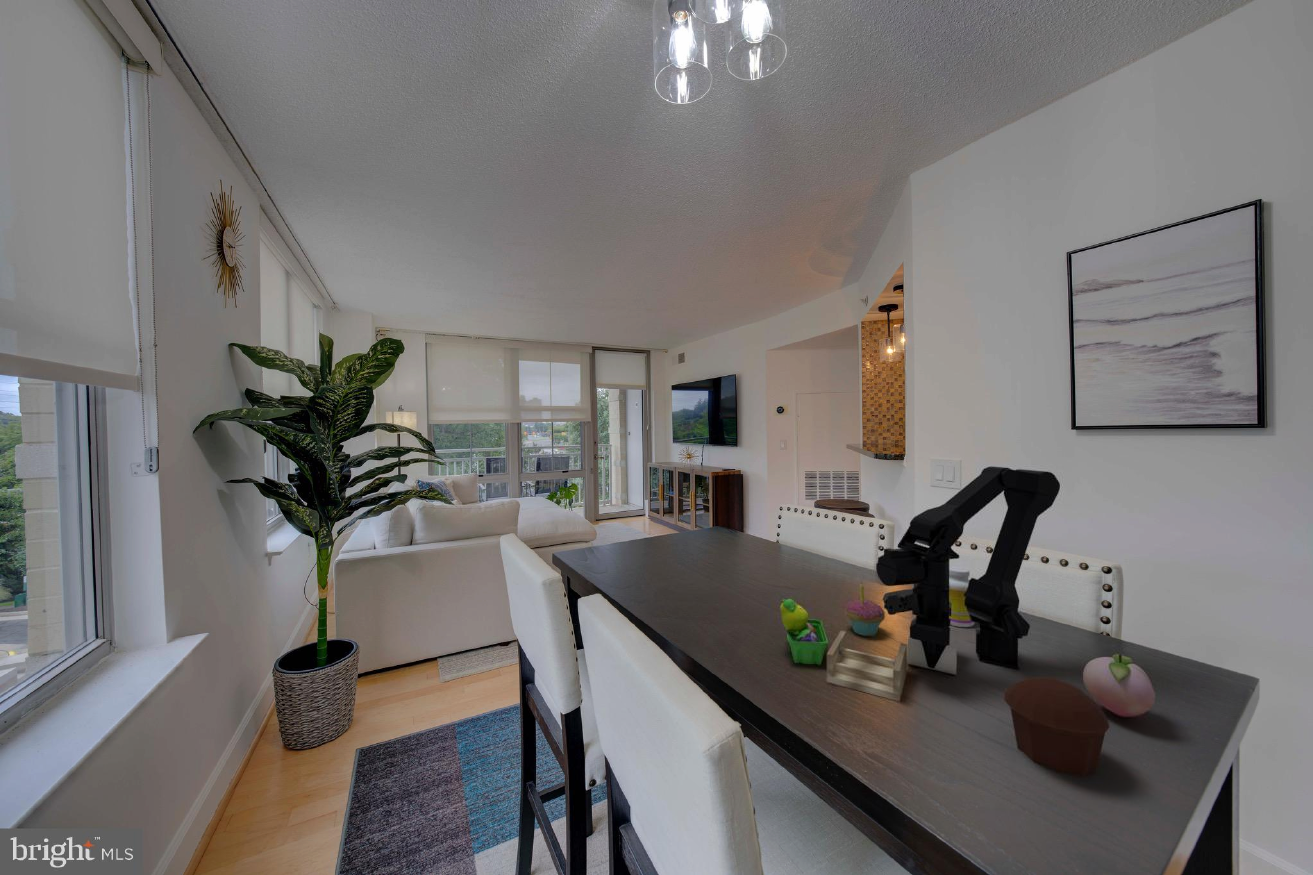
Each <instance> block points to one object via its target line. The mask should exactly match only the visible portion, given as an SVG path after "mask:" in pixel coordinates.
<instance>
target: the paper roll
mask: <svg viewBox="0 0 1313 875" xmlns="http://www.w3.org/2000/svg"><path fill="white" fill-rule="evenodd" d="M907 639H908V640H907V664H908V665H912V666H917V667H921V668H925V669H928V670H929V669H930V670H933V671H934V670H935V671H937V672H943V673H947V674H951V675H954V676H955V675H957V665H958V655H957V645H951V644H950V645H947V646H946V648H945V649H944V651H943V653H942V655H941V657H940V658H939V660H938V662H937V664H936V666H935V668H930V667H928V666H927V662H926V658H925V654H924V650H923V646H922V642H921V641H920V640H916V639H912V638H910V636H909V637H908V638H907Z"/></svg>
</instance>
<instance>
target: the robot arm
mask: <svg viewBox="0 0 1313 875" xmlns="http://www.w3.org/2000/svg"><path fill="white" fill-rule="evenodd" d="M1060 487H1061V483H1060V481H1059V480H1058V478H1057V477H1056V475H1055V474H1054V473H1053V472H1051V471H1045V470H1033V469H1032V470H1031V469H1021V468H1019V469H1017V468H1016V469H1011V468H1010V467H1003V466H994V465H993V466H987V467H984V468H983V469H982V471H981V472H980V474H979V475H978V476H977V477H976V478H974V479H972V481H970V482H969V483H968V484H967V485H965V486H964V487H963V488H962V489H960V490H959V491H958V492H957V493H956V494H954V495H953V496H951V498H950V499H948V500H947V501H946V502H945V503H943V504H941V505H939V506H935V507H933V508H928V509H926V510H924V511H922V512H921V513H919V514H917V515H916V516H914V517H913V518H912V519H911V520H910V522H909V526H908V528H907V529H906V532H905V533H904V534H903V536H902V537H901V540H900V541H899V542H898V543H897V548H888V547H887V548H884V549H883V554H882V555H880V557H878V559H877V562H876V563H875V565H876V566H875V567H876V568H875V569H876V573H877V576H878V579H879V580H880V582H881V583H882V584H883V585H885V586H886V587H894V586H905V585H908V586H909V585H913V587H912V588H910V589H901V590H900V589H899V590H894V591H889V592H886V593H884V595H883V597H882V601H883V603H884V605H883V608H884V610H886V611H887V614H888V615H890V616H894V615H896V614H900V613H906V612H911V614H912V616H915V618H913V619H911V622H910V625H909V637H910V638H912V639H916V640H920V641H921V642H922V646H923V650H924V654H925V658H926V662H927V666H928V667H930V668H935V666H936V664H937V662H938V660H939V658H940V657H941V655H942V653H943V651H944V649H945V648H946V646H947V645H951V643H950V641H951V627H950V626H951V625H950V623H951V619H949V616H951V613H952V603H951V602H950V601H949V592H950V586H949V567H950V560H956V559H960V555H959V554H958V553H957V552H956V551H954V550H953V548H952V547H953V546H954V545H955V544H956V542H957V541H958V540H959V539H960V538H961V536H962V535H963V533H964V527H965V525H966V523H967V522H969V520H971V519H972V518H973V517H974V516H975V515H977V514H978V513H980V511H981V510H983V509H984V508H985V507H986V506H987V505H989V504H990V503H991V502H992V501H993V500H995V499H996V498H997V497H998V496H1000V494H1002V493H1003V497H1004V499H1005V503H1006V506H1007V510H1006V512H1005V515H1004V518H1003V521H1002V523H1001V527H1000V530H999V533H998V536H997V539H996V541H995V542H996V543H995V545H994V548H993V550H992V553H991V556H990V559H989V561H988V565H987V568H986V571H985V573H984V574H982V576H980V577H979V578H978V579H977V578H975V577H971V578H970V579H968V580H969V584H968V588H967V590H966V592H965V593H964V596H965V601H964V605H965V606H966V609H967V611H968V613H969V616H970V619H971V621H972V622H974V624H978V629H975V654H976V655H978V661H980V662H985V663H988V664H994V665H999V666H1003V667H1007V668H1012V669H1013V668H1014V669H1018V670H1019V669H1020V666H1021V665H1020V662H1019V639H1020V640H1021V639H1023V637H1027V636H1028V634H1029V632H1030V628H1031V625H1030V624H1029V622H1028V621H1027V620H1026V619H1025V618H1024V617H1023V616H1022V615H1021V614H1020V613H1019V606H1020V598H1019V594H1018V592H1017V587H1016V582H1017V579H1018V576H1019V573H1020V570H1021V567H1022V564H1023V561H1024V558H1025V554H1026V552H1027V550H1028V546H1029V543H1030V541H1031V537H1032V535H1033V532H1034V530H1035V526H1036V523H1037V521H1038V520H1037V519H1038V517H1039V516H1041V514H1043V513H1044V512H1046V511H1047V510H1048V509H1050V508H1051V507H1052V506H1053V504H1054V502H1055V500H1056V499H1057V496H1058V494H1059V492H1060V489H1061V488H1060Z"/></svg>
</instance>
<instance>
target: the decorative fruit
mask: <svg viewBox="0 0 1313 875" xmlns="http://www.w3.org/2000/svg"><path fill="white" fill-rule="evenodd" d="M1082 679H1083V680H1082V681H1083V684H1084V686H1085V688H1086V690H1087V691H1088V693H1089V694H1090V695H1091V698H1093V699H1095V701H1096V702H1098V703H1099V704H1100V705H1102V706H1103V707H1104V708H1105V709H1107V710H1108V711H1110V712H1112V713H1113V714H1114V715H1117V716H1119V717H1122V718H1123V717H1124V718H1129V717H1130V718H1131V717H1132V718H1133V717H1139V716H1141V715H1143V714H1145V713H1146V712H1148V711H1149V710H1150V709H1151V708H1152V707H1153V705H1154V703H1155V700H1156V692H1155V690H1154V687H1153V685H1152V682H1151V680H1150V678H1149V676H1148V674H1147V673H1146V672H1145V671H1144V670H1143V669H1142V668H1141V667H1140V666H1139V665H1137V664H1136V663H1134V660H1132V658H1130V657H1128V656H1125V655H1122V654H1119V653H1117V654H1113V655H1112V656H1111V657H1110V656H1101V657H1096V658H1093V659H1092V660H1089V662H1087V663H1086V665H1085V667H1084V669H1083V673H1082Z"/></svg>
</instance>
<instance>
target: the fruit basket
mask: <svg viewBox="0 0 1313 875" xmlns="http://www.w3.org/2000/svg"><path fill="white" fill-rule="evenodd" d="M781 602H782V603H781V604H780V606H779V607H780V608H779V609H780V613H781V621H782V624H783V626H784V627H785V630H786V636H787V641H788V644H789V647H790V650H791V654H792V659H793V662H794V663H796V664H805V665H819V666H821V665H822V662H823V657H824V655H825V652H826V647H827V646H828V643H829V640H828V638H827V635H826V631H825V629H824V625H823V622H822V621H821V620H818V619H811V618H809V614H808V612H807V610H806V609H805V608H803V606H802V605H799V604H798V603H796V602H795V601H794V599H791V598H787V599H785V598H784V599H782V601H781Z"/></svg>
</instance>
